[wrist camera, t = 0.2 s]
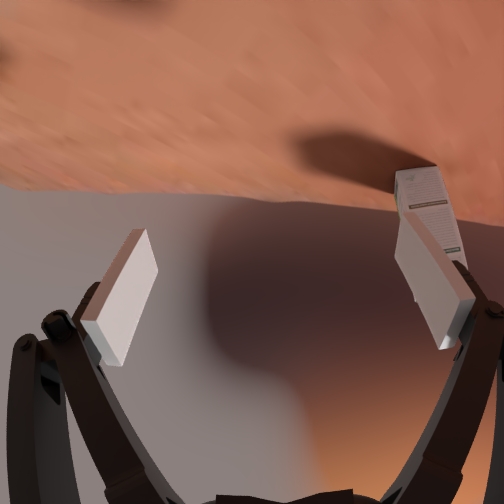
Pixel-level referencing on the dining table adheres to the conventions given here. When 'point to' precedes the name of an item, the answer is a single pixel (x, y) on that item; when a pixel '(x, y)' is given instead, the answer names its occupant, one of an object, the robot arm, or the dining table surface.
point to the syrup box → (430, 207)
